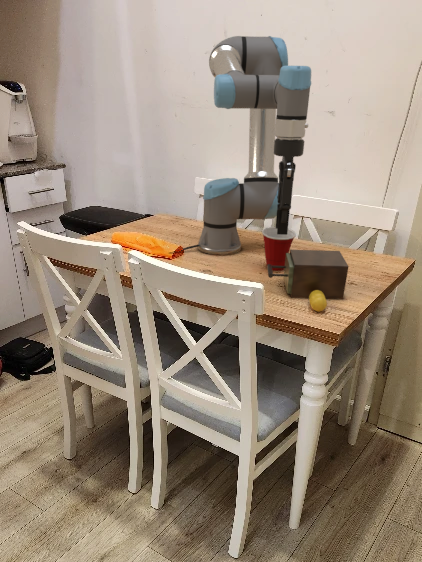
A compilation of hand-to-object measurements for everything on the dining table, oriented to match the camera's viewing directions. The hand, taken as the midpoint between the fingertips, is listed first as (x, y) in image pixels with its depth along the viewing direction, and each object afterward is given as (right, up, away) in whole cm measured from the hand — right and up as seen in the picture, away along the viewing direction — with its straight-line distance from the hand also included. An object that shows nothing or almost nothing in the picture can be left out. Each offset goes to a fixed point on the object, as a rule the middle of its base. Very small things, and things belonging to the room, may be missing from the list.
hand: (281, 230), depth 134 cm
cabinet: (+11, -15, +8) cm, 20 cm away
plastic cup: (+2, -5, +24) cm, 24 cm away
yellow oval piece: (+9, -22, -3) cm, 24 cm away
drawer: (+6, -14, +8) cm, 17 cm away
